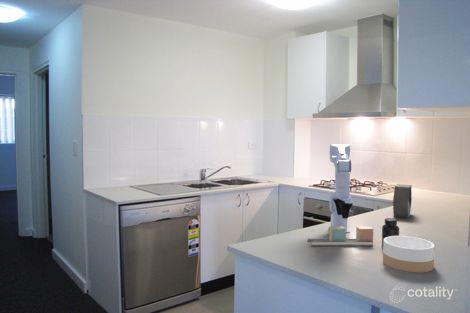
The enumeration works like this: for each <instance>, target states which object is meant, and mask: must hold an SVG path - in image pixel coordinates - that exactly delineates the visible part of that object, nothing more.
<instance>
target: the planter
mask: <svg viewBox="0 0 470 313" xmlns="http://www.w3.org/2000/svg"><path fill="white" fill-rule="evenodd" d="M412 200H413V197H412V185H411V184H396V185H395V186H394V190H393V198H392V206H393V207H392V209H393V212H392V213H393V214H392V215H393V218H403V219H409V218H410V216H411V211H412Z"/></svg>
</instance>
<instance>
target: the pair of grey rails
mask: <svg viewBox="0 0 470 313" xmlns="http://www.w3.org/2000/svg"><path fill="white" fill-rule="evenodd" d="M307 242H310V246H311V247H373V245H374V240H373V241H356V238H345V241H329V238H307Z"/></svg>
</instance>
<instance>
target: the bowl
mask: <svg viewBox="0 0 470 313" xmlns="http://www.w3.org/2000/svg"><path fill="white" fill-rule="evenodd" d="M435 247H436V246H435V244H434V242H432V241H430V240H427V239H424V238H420V237H416V236H409V235H399V236H389V237H386V238H384V240H383V247H382V253H383V254H382V262H383V264H384V265H386V266H387V267H389V268H392V269H395V270H398V271H401V272H408V273H428V272H431V271H433V270H434V267H435V266H434V265H435V250H436V248H435Z"/></svg>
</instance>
